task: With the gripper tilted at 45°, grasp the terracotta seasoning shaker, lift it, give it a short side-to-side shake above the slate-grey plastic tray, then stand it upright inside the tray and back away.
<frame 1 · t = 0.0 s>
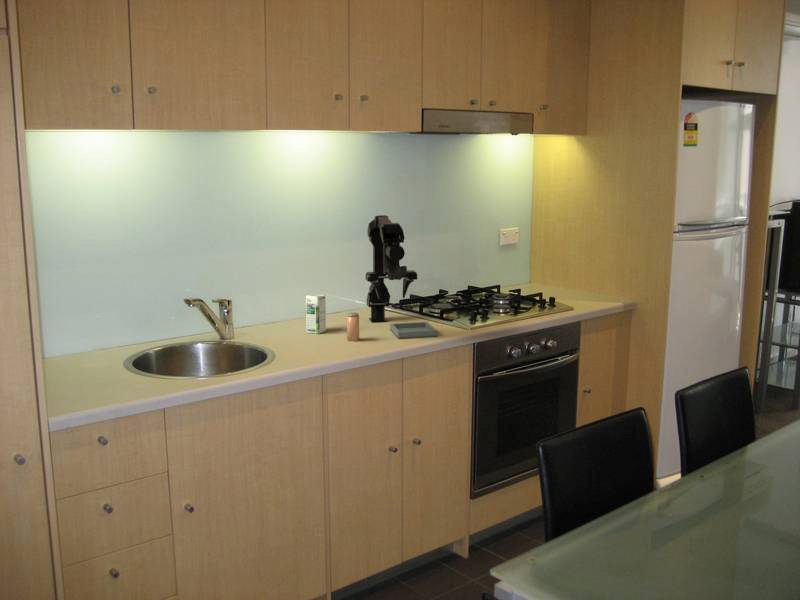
hand: (391, 298, 297), 15 cm above the table, tool pointing down, fingers open, 9 cm apart
tray: (413, 333, 305), on the table
shaker: (353, 340, 295), on the table
syrup box: (316, 332, 308), on the table
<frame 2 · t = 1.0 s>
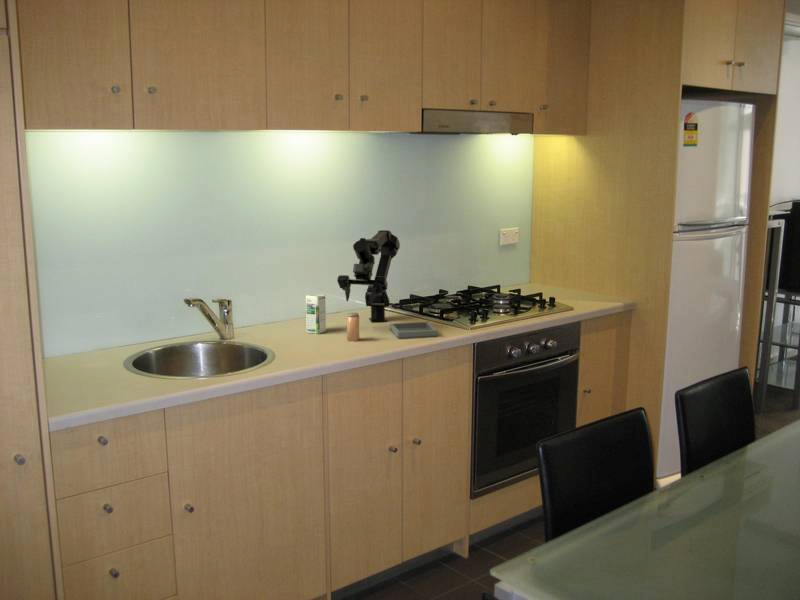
hand: (358, 301, 299), 13 cm above the table, tool tilted 45°, fingers open, 9 cm apart
nothing on the table moved.
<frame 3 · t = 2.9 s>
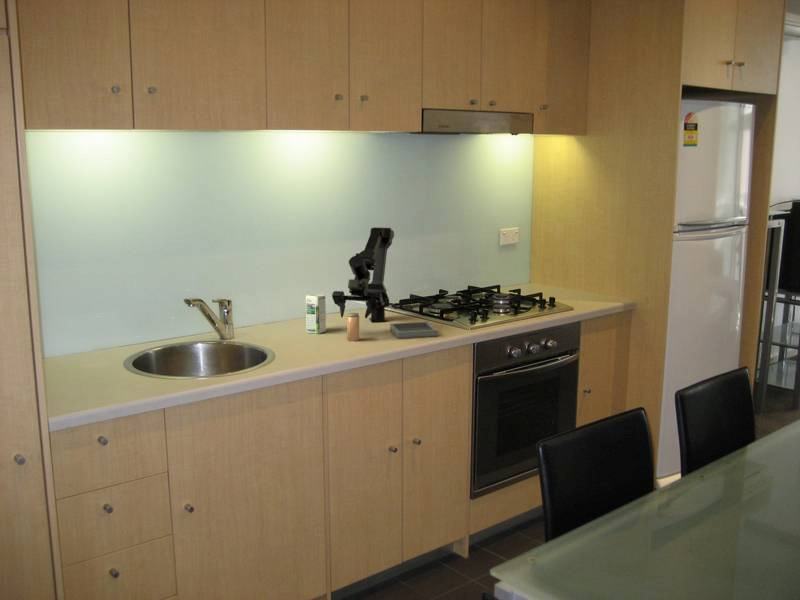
hand: (353, 317, 294), 8 cm above the table, tool tilted 45°, fingers open, 9 cm apart
nothing on the table moved.
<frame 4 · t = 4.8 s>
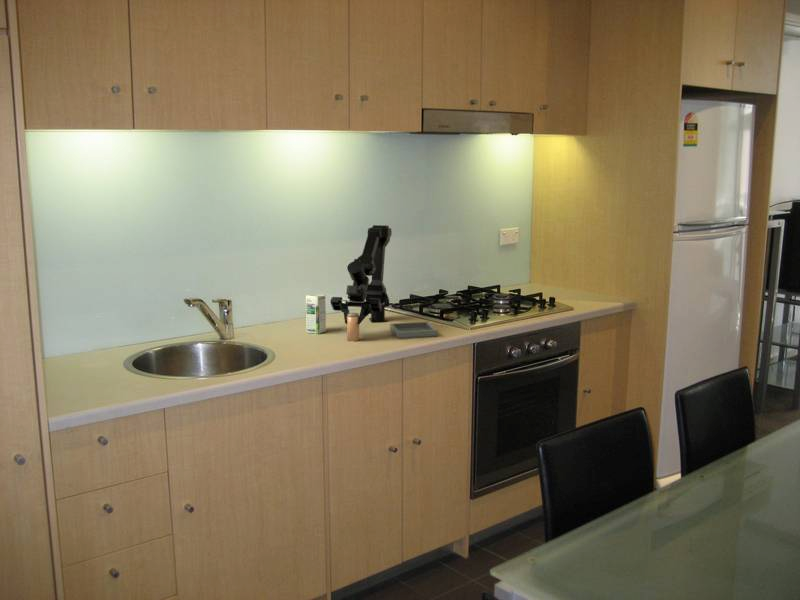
hand: (352, 323, 292), 7 cm above the table, tool tilted 45°, fingers closed on shaker, 4 cm apart
shaker: (353, 340, 295), on the table, touching gripper
everything else where it was.
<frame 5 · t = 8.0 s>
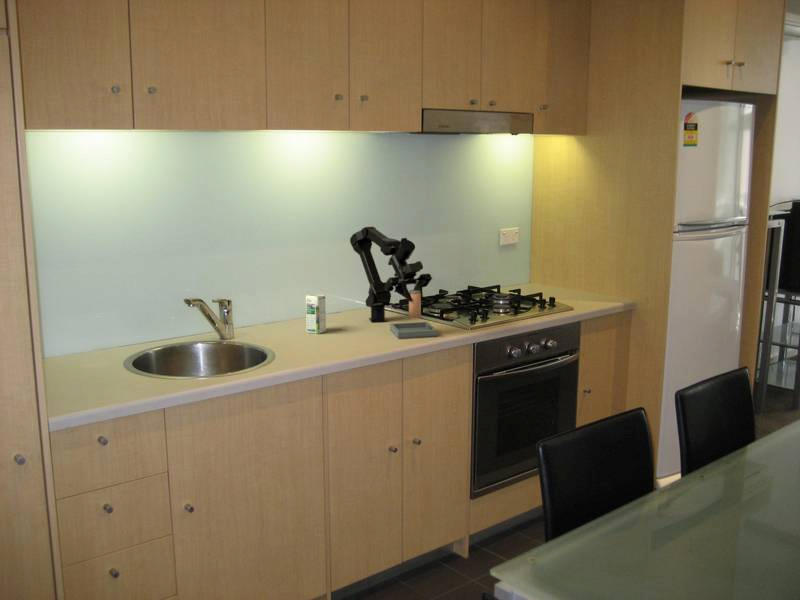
hand: (416, 300, 300), 13 cm above the table, tool tilted 45°, fingers closed on shaker, 4 cm apart
shaker: (414, 316, 302), point 7 cm above the table, touching gripper
everything else where it was.
when the fingers open (8 cm above the table, at t = 11.4 s): shaker drops 1 cm, resting on tray.
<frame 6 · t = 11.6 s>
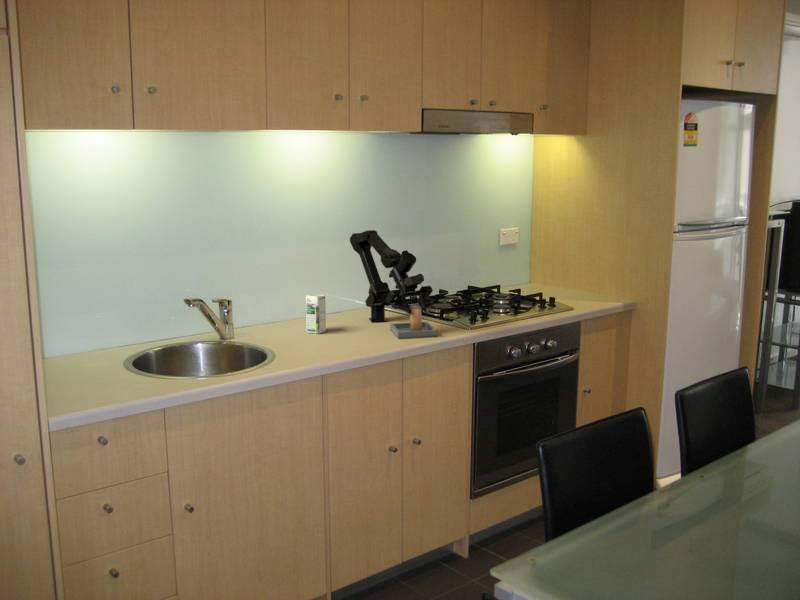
hand: (418, 312, 301), 9 cm above the table, tool tilted 45°, fingers open, 7 cm apart
shaker: (416, 331, 304), point 1 cm above the table, touching tray
everything else where it was.
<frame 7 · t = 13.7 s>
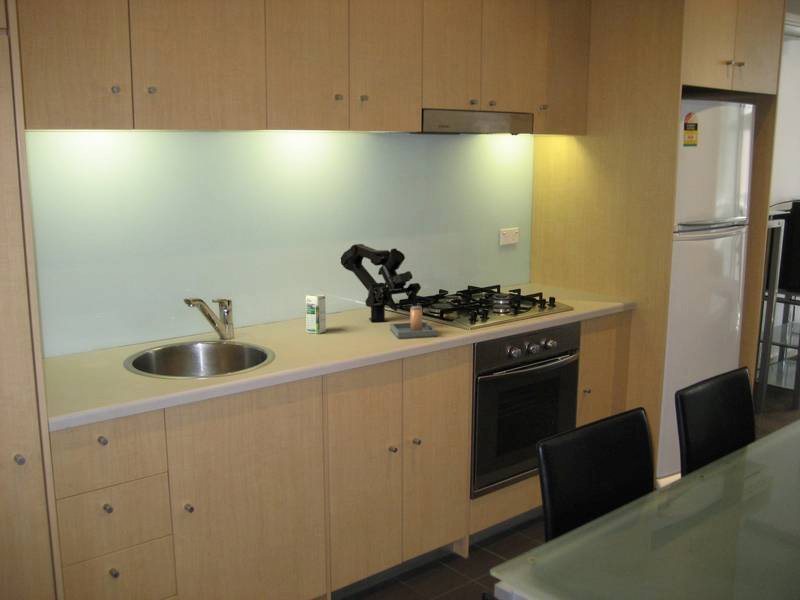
hand: (406, 309, 308), 8 cm above the table, tool tilted 45°, fingers open, 9 cm apart
nothing on the table moved.
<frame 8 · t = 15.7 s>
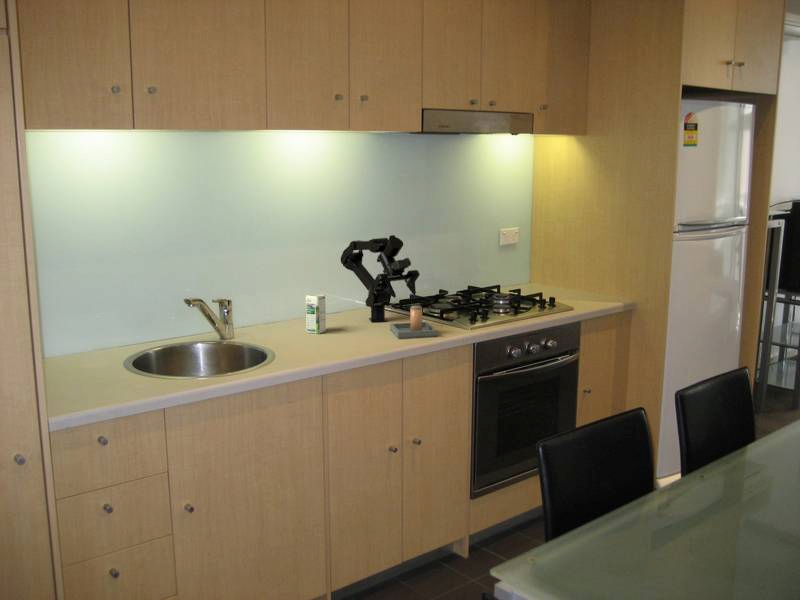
hand: (405, 295, 307), 14 cm above the table, tool tilted 45°, fingers open, 9 cm apart
nothing on the table moved.
at the end: shaker inside the target area on the tray (1.4 cm from its centre), point 0.6 cm above the tray's base; shaker tilted 0°; the gripper is holding nothing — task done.
